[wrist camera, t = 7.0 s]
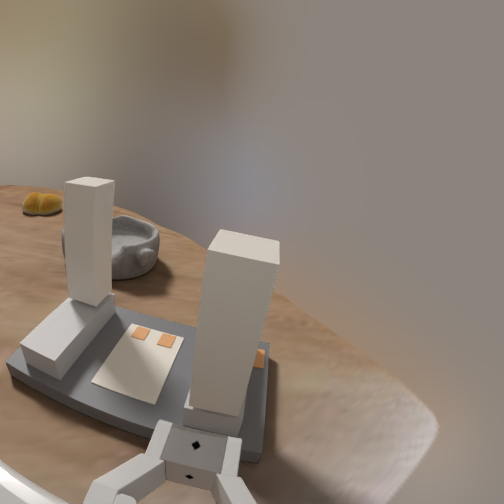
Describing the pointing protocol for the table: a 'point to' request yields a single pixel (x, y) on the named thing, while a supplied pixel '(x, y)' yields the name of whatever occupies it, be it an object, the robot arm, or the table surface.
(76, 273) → the rear knob
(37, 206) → the bread roll
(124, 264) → the dish
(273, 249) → the front knob
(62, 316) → the switch box
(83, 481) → the table surface
